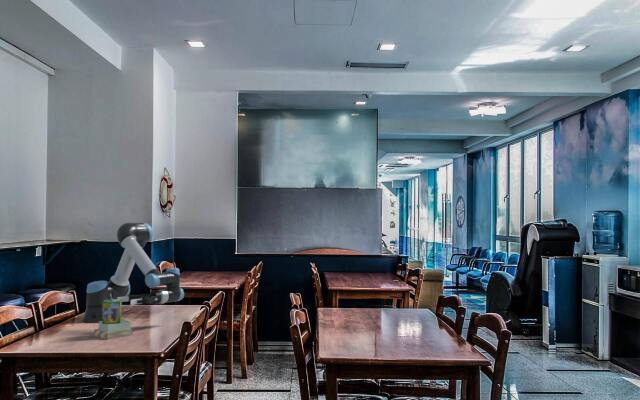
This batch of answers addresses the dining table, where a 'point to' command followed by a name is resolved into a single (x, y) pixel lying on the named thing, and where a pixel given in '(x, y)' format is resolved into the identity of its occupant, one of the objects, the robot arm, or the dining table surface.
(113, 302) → the chalk box
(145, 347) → the dining table surface
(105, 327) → the top block
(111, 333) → the bottom block
